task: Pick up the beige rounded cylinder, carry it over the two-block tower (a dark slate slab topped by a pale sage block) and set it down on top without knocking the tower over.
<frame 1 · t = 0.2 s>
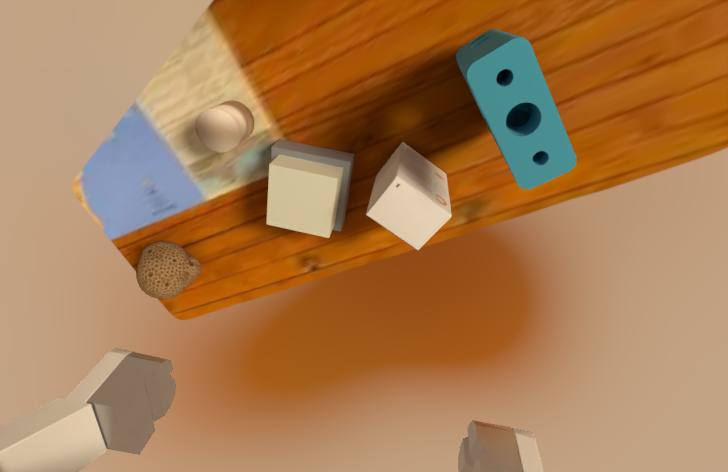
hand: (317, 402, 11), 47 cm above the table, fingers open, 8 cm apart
natural sponge: (183, 251, 70), on the table
tower base: (314, 180, 60), on the table, touching tower top
beige rounded cylinder: (235, 120, 57), on the table
small box: (411, 173, 57), on the table
tower top: (308, 190, 57), point 3 cm above the table, touching tower base
block: (489, 80, 50), on the table
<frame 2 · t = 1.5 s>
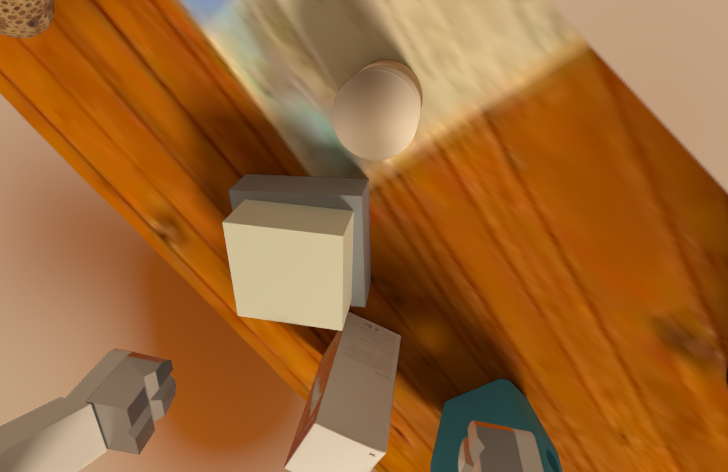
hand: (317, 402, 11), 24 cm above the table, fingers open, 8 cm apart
tower base: (313, 229, 38), on the table, touching tower top
beige rounded cylinder: (385, 99, 30), on the table
small box: (360, 344, 44), on the table
tower top: (301, 252, 34), point 4 cm above the table, touching tower base
block: (484, 401, 45), on the table
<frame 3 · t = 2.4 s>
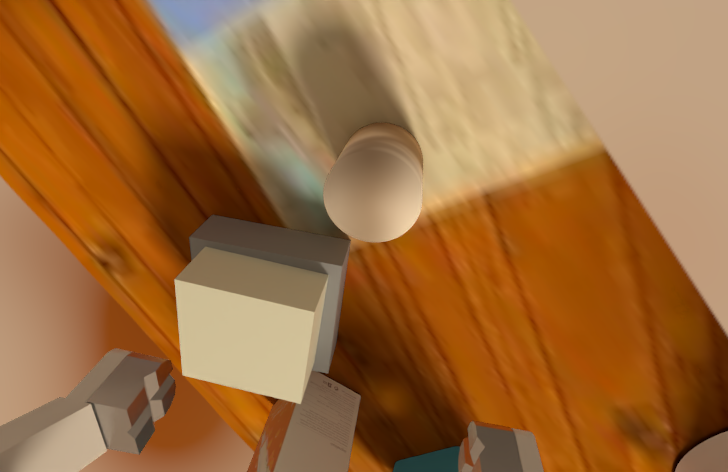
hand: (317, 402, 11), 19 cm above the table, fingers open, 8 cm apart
tower base: (280, 280, 34), on the table, touching tower top
beige rounded cylinder: (382, 163, 27), on the table
small box: (315, 398, 41), on the table
tower top: (263, 308, 30), point 4 cm above the table, touching tower base
block: (436, 465, 43), on the table
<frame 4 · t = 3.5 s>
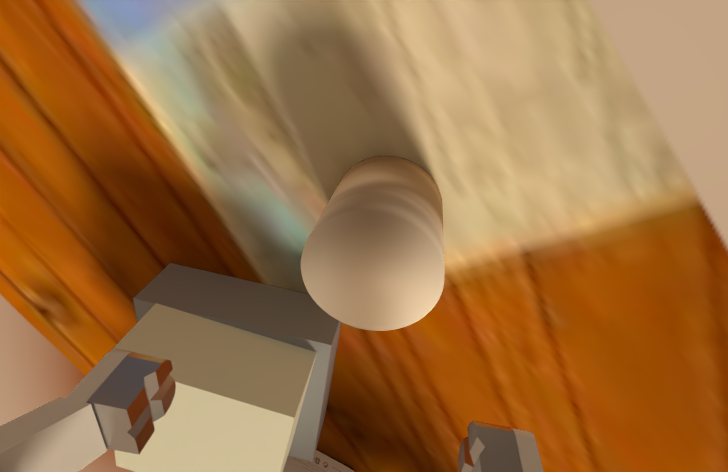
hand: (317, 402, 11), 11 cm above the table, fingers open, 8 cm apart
tower base: (257, 341, 27), on the table, touching tower top
beige rounded cylinder: (387, 208, 20), on the table
small box: (301, 469, 34), on the table
tower top: (230, 381, 24), point 3 cm above the table, touching tower base
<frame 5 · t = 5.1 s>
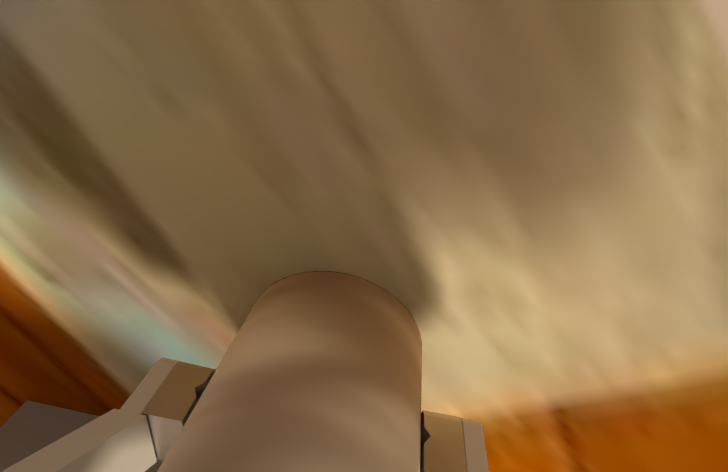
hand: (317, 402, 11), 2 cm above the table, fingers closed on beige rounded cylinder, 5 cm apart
beige rounded cylinder: (333, 343, 13), on the table, touching gripper
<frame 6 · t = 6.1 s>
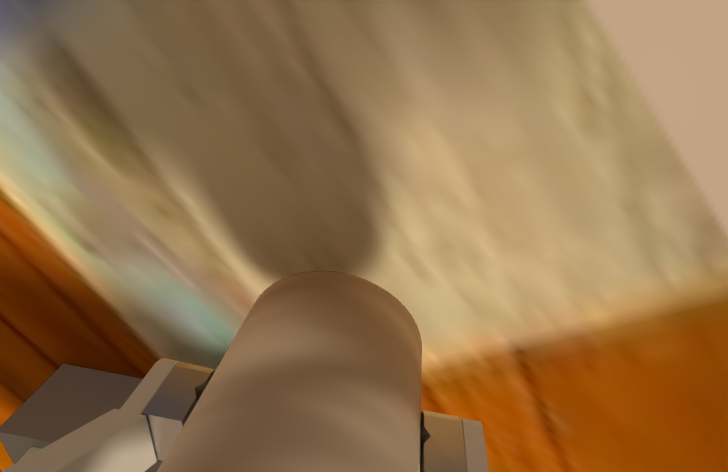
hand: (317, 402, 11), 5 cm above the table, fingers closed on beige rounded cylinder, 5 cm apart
tower base: (191, 444, 22), on the table, touching tower top
beige rounded cylinder: (333, 343, 13), point 3 cm above the table, touching gripper
when the fingers open (11 cm above the table, at t = 13.1 s): beige rounded cylinder drops 1 cm, resting on tower top.
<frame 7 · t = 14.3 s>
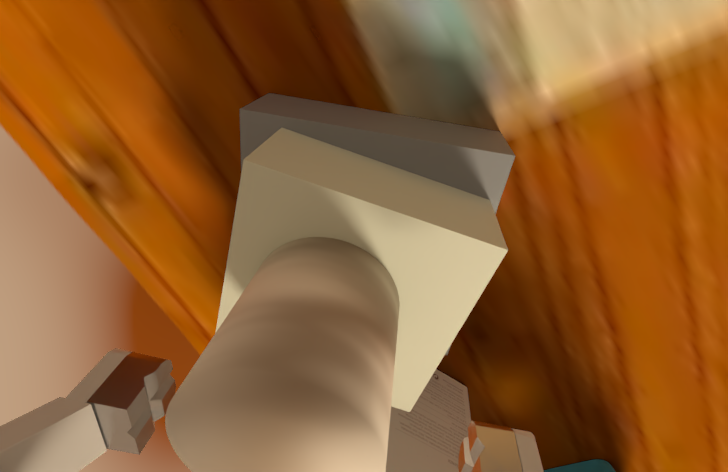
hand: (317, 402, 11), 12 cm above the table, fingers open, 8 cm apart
tower base: (368, 211, 22), on the table, touching tower top
beige rounded cylinder: (326, 301, 15), point 8 cm above the table, touching tower top
small box: (396, 392, 28), on the table
tower top: (355, 251, 19), point 3 cm above the table, touching beige rounded cylinder, tower base
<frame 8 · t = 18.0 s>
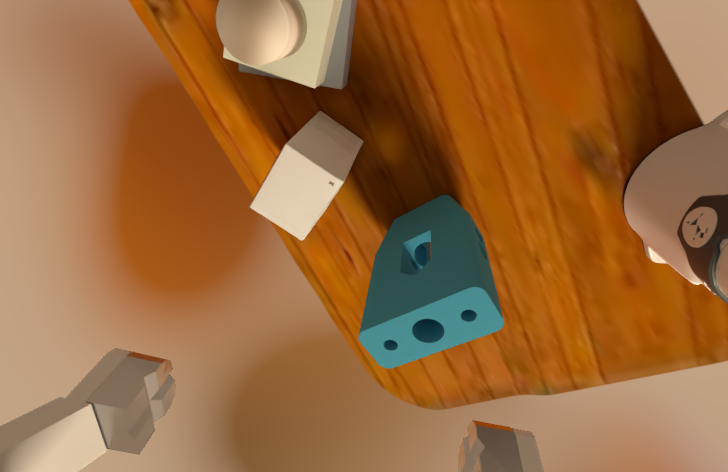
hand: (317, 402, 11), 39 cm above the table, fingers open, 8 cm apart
tower base: (303, 19, 42), on the table, touching tower top
beige rounded cylinder: (276, 23, 35), point 7 cm above the table, touching tower top
small box: (325, 151, 49), on the table
tower top: (290, 19, 39), point 3 cm above the table, touching beige rounded cylinder, tower base
block: (427, 221, 51), on the table
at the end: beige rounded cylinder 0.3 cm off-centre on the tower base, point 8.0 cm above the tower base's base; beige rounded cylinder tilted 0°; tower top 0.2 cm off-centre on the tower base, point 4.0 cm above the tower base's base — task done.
